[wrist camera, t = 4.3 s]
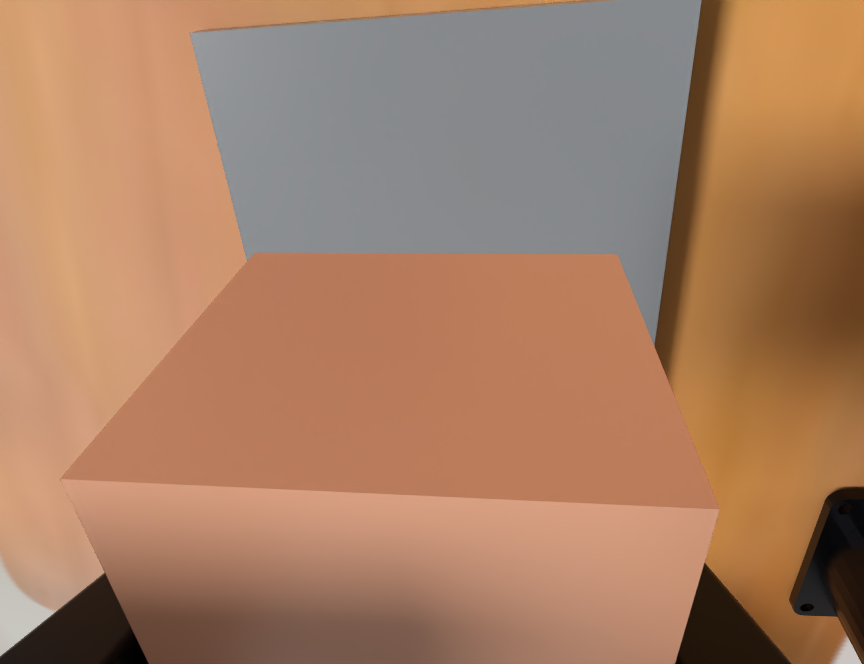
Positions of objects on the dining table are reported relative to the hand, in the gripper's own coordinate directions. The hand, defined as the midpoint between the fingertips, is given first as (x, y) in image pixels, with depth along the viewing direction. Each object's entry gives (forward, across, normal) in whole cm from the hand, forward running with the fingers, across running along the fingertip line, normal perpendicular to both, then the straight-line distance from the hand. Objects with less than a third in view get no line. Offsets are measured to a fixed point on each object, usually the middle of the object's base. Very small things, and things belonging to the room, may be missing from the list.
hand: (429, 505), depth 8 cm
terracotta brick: (+1, 0, 0) cm, 1 cm away
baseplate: (+11, 0, +1) cm, 11 cm away
